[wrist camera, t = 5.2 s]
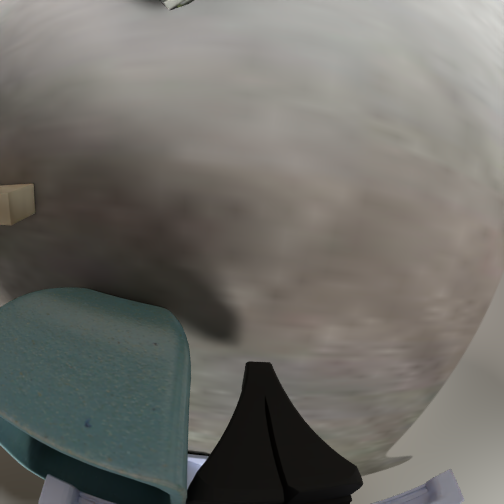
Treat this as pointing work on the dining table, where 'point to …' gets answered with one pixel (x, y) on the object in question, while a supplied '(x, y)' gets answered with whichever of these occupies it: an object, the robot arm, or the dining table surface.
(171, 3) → the mat
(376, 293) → the dining table surface
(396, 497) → the robot arm
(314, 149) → the dining table surface
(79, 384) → the flower pot
